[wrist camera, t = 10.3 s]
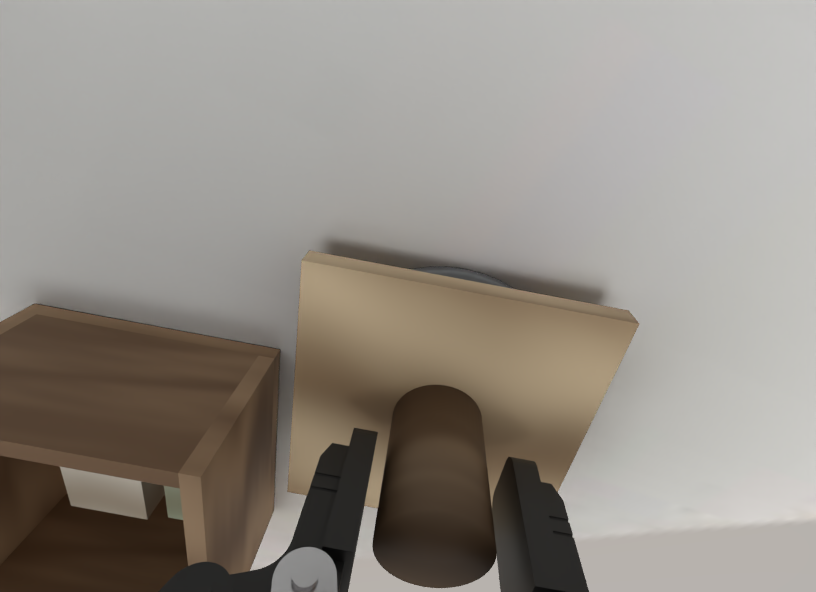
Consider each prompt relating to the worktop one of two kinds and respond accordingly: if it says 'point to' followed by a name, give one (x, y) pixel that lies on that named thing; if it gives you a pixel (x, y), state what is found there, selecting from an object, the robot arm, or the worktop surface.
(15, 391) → the tea box
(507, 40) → the worktop surface
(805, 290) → the worktop surface
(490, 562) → the lid
